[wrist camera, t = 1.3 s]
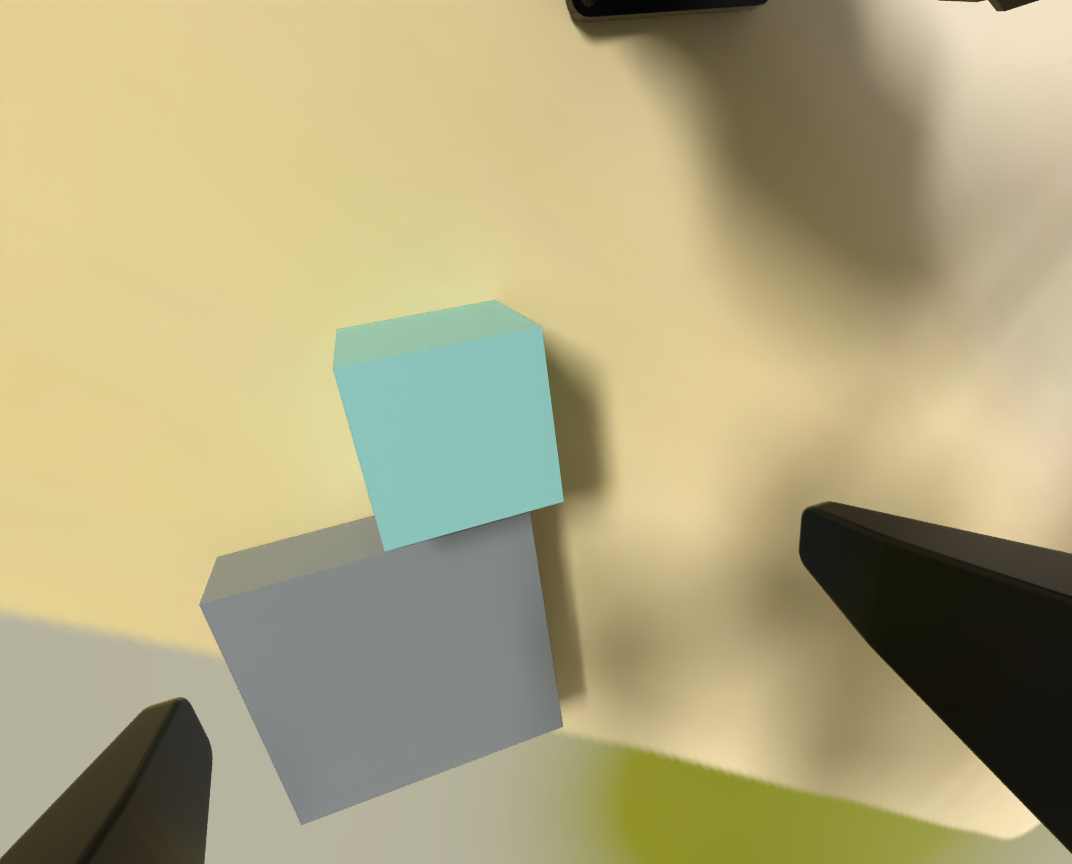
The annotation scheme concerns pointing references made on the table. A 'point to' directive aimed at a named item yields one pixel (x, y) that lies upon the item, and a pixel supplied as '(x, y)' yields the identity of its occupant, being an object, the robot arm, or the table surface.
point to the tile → (385, 654)
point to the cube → (449, 419)
